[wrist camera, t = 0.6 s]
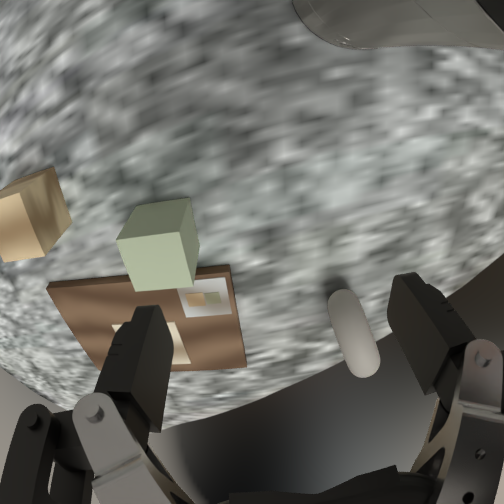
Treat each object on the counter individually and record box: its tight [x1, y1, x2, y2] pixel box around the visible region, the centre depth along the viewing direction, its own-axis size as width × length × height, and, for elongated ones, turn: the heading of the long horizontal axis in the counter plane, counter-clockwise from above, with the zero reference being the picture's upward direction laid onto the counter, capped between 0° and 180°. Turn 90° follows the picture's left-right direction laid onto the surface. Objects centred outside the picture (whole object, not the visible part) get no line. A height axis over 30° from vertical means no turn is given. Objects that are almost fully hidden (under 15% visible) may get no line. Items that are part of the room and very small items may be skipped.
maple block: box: [0, 167, 72, 262], centre depth 22 cm, size 6×6×6 cm
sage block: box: [116, 198, 200, 292], centre depth 24 cm, size 5×5×6 cm
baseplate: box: [46, 265, 247, 372], centre depth 34 cm, size 16×22×1 cm
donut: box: [327, 289, 380, 378], centre depth 29 cm, size 10×4×10 cm, turn 27°
